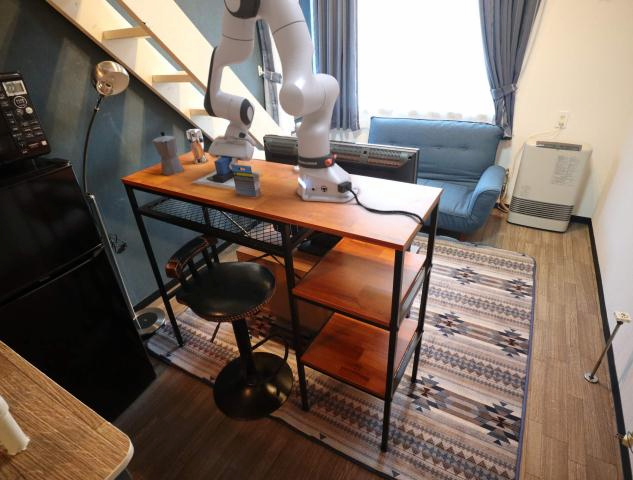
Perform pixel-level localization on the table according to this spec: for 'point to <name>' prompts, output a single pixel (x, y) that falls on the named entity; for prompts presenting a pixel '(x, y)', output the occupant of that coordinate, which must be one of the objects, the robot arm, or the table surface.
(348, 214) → the table surface
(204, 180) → the whiteboard
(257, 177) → the tape cartridge
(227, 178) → the eraser
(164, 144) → the coffeepot
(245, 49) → the robot arm
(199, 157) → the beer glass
